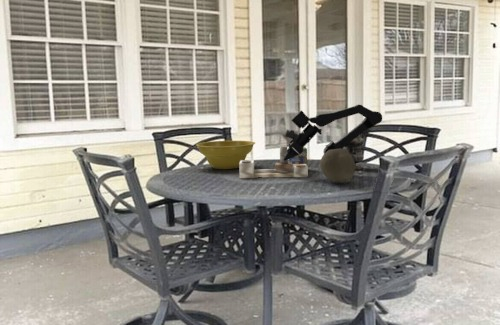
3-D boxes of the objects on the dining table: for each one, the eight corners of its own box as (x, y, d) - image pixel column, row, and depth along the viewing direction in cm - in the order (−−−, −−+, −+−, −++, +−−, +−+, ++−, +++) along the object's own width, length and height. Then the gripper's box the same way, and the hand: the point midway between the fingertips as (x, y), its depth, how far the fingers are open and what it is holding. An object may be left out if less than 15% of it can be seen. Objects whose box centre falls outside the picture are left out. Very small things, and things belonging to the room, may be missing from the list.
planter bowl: (244, 172, 258) (243, 146, 257) (186, 171, 269) (185, 145, 267) (263, 164, 289) (262, 140, 287) (211, 163, 299) (210, 140, 297)
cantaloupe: (343, 179, 227) (343, 146, 225) (361, 184, 214) (361, 148, 212) (315, 182, 222) (314, 148, 220) (331, 187, 209) (331, 151, 207)
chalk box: (307, 171, 256) (307, 142, 254) (289, 171, 256) (288, 142, 255) (306, 168, 265) (305, 140, 263) (288, 169, 266) (288, 140, 264)
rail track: (306, 173, 250) (306, 157, 249) (308, 176, 238) (307, 160, 237) (241, 174, 252) (240, 159, 251) (239, 178, 240) (239, 162, 239)
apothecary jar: (364, 170, 254) (364, 134, 252) (339, 170, 256) (339, 134, 254) (362, 166, 266) (362, 132, 264) (339, 167, 268) (339, 132, 266)
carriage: (292, 167, 248) (291, 145, 247) (292, 169, 240) (292, 147, 239) (275, 167, 249) (275, 146, 247) (275, 169, 241) (275, 147, 239)
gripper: (293, 122, 251) (271, 145, 253) (295, 124, 232) (271, 149, 234) (309, 138, 251) (287, 161, 253) (312, 141, 233) (289, 166, 235)
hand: (283, 159), depth 244 cm, fingers open, 9 cm apart
